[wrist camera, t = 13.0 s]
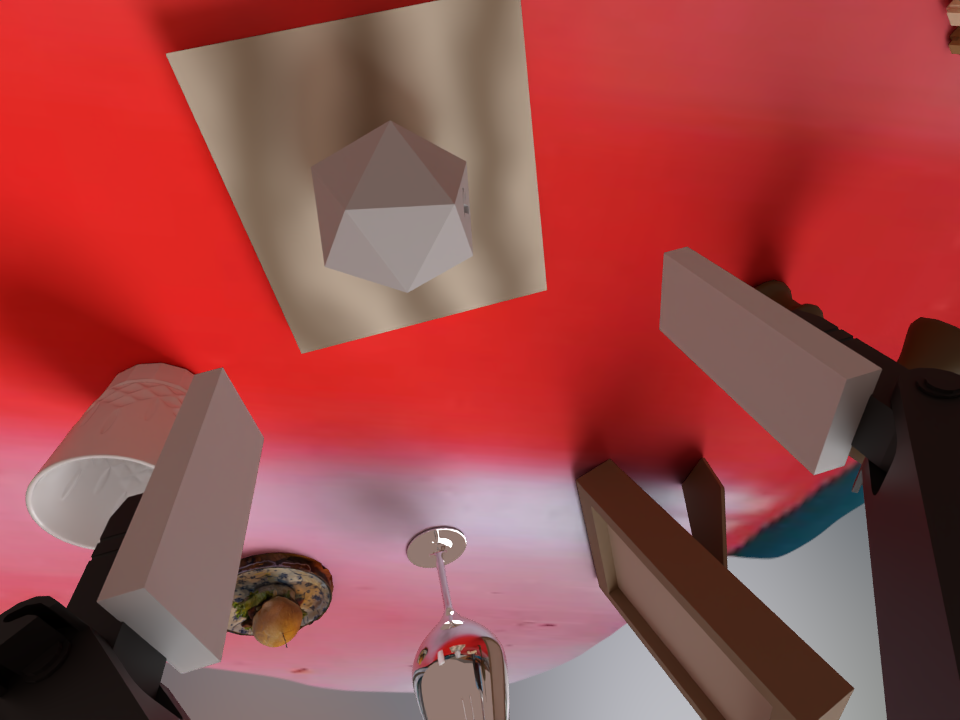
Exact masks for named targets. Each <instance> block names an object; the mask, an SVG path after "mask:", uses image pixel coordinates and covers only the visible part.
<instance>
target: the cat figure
mask: <svg viewBox="0 0 960 720" xmlns="http://www.w3.org/2000/svg"><path fill="white" fill-rule="evenodd" d="M946 9H947V15H948V18H949V21H950V24H951V26H958V27H957V28H956V29H955V31H954V32H953V33H952V34H951V35H950V38H951V40H952V41H951V42H950V44H949V48H950V51H951V53H952V54H960V0H953V1H952V2H951V3H950V4H949V5H948V7H947V8H946Z"/></svg>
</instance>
